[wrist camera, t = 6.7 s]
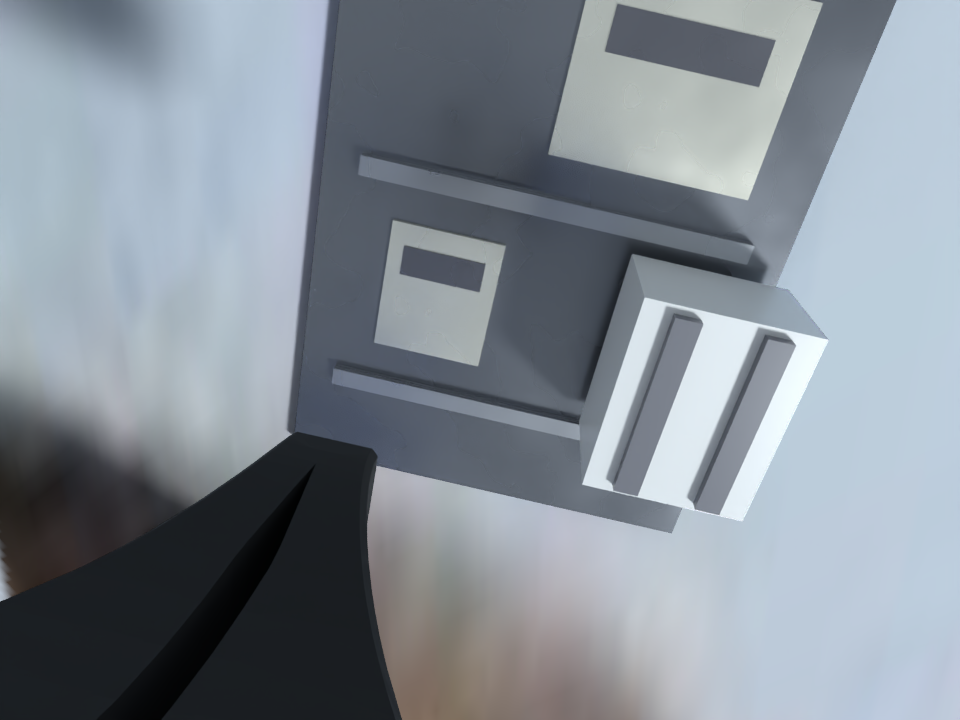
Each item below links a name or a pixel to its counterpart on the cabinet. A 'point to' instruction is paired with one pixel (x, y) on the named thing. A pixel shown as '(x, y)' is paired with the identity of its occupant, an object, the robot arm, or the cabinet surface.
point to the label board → (547, 208)
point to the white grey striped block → (695, 387)
